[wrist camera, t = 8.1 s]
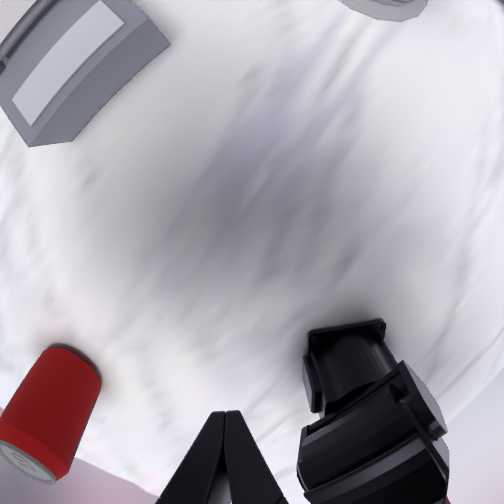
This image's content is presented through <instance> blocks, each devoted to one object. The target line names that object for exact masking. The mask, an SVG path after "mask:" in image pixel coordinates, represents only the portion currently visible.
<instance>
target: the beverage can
mask: <svg viewBox="0 0 504 504" xmlns="http://www.w3.org/2000/svg"><path fill="white" fill-rule="evenodd" d="M100 390H101V385H100V381H99V379H98V377H97V375H96V373H95V372H94V370H93V369H92V368H91V367H90V366H89V365H88V364H87V363H86V362H85V361H84V360H83V359H81V358H80V357H79V356H77V355H75V354H74V353H72V352H70V351H67V350H65V349H61V348H49V349H46V350H45V351H44V352H43V353H42V354H41V356H40V357H39V358H38V360H37V361H36V362H35V364H34V365H33V367H32V368H31V369H30V371H29V372H28V374H27V375H26V377H25V378H24V380H23V381H22V383H21V384H20V386H19V387H18V389H17V390H16V392H15V394H14V395H13V397H12V398H11V400H10V401H9V403H8V405H7V406H6V408H5V410H4V412H3V413H2V415H1V417H0V455H1V456H2V457H3V458H4V459H5V460H6V461H7V462H8V463H9V464H11V465H12V466H13V467H14V468H16V469H17V470H19V471H20V472H21V473H23V474H25V475H26V476H28V477H30V478H32V479H34V480H36V481H38V482H40V483H43V484H46V485H54V484H55V482H56V481H57V480H59V479H60V478H62V477H63V476H65V475H66V474H67V473H68V472H69V469H70V467H71V464H72V461H73V459H74V456H75V454H76V451H77V449H78V446H79V443H80V441H81V438H82V436H83V433H84V431H85V428H86V425H87V423H88V420H89V418H90V415H91V413H92V410H93V408H94V405H95V403H96V400H97V398H98V396H99V393H100Z"/></svg>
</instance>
